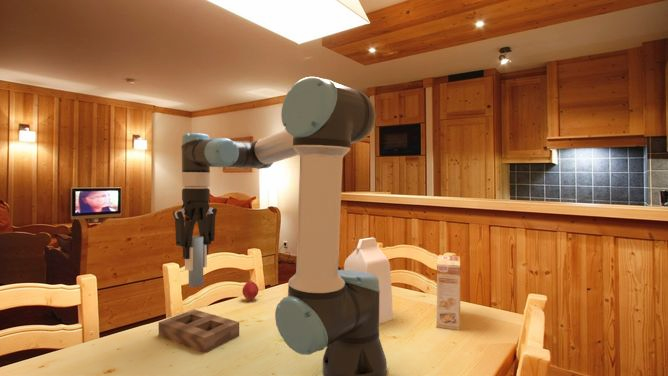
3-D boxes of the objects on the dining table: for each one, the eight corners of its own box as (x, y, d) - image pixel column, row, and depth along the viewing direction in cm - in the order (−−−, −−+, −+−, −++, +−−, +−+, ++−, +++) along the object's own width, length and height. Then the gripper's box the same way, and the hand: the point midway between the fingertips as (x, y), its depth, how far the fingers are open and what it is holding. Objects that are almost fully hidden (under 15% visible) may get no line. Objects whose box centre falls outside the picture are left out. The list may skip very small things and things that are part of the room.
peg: (206, 284, 104) (206, 236, 104) (194, 287, 101) (194, 238, 100) (197, 282, 106) (197, 235, 106) (185, 285, 103) (185, 237, 102)
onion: (241, 299, 134) (241, 278, 134) (256, 297, 137) (256, 276, 137) (244, 304, 129) (244, 282, 129) (259, 301, 132) (259, 280, 131)
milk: (366, 328, 107) (366, 243, 107) (341, 317, 116) (341, 238, 116) (393, 318, 115) (393, 239, 115) (368, 309, 124) (368, 234, 123)
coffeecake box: (460, 330, 106) (460, 265, 106) (435, 327, 108) (435, 263, 108) (459, 313, 120) (460, 255, 120) (437, 310, 122) (438, 254, 122)
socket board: (239, 335, 103) (239, 322, 102) (205, 353, 92) (204, 337, 92) (194, 321, 113) (193, 309, 113) (158, 335, 103) (158, 322, 103)
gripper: (211, 186, 112) (211, 260, 112) (160, 187, 97) (160, 272, 98) (227, 187, 108) (227, 263, 109) (177, 188, 93) (177, 276, 94)
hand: (195, 267), depth 103 cm, fingers closed on peg, 4 cm apart
